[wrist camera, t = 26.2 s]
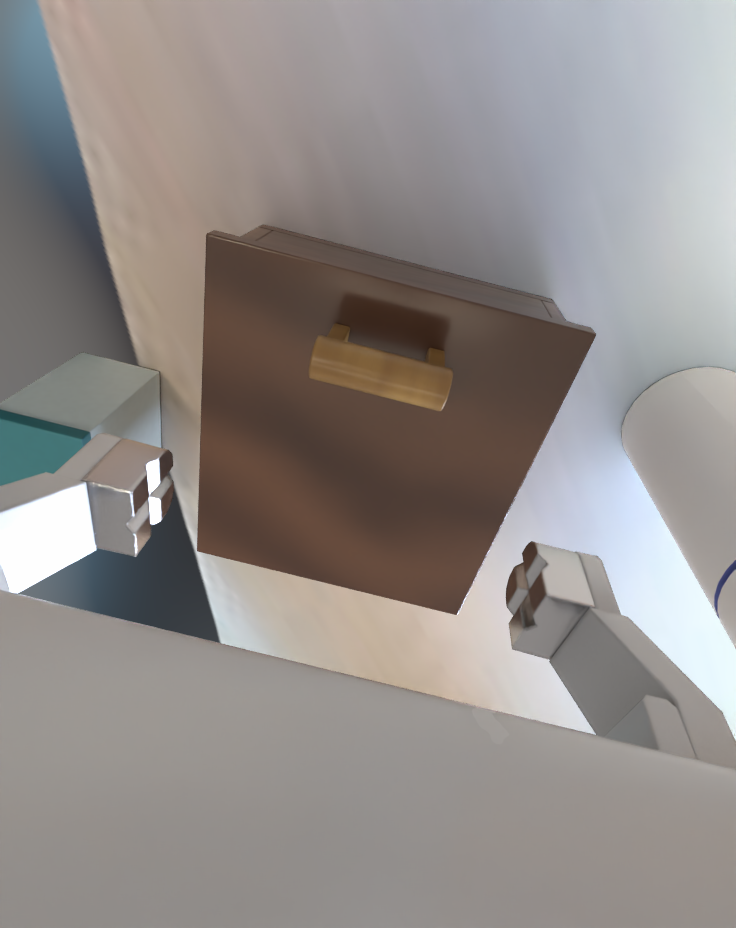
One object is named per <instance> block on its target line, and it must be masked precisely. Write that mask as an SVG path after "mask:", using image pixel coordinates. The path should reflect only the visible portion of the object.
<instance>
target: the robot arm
mask: <svg viewBox="0 0 736 928" xmlns="http://www.w3.org/2000/svg"><path fill="white" fill-rule="evenodd" d="M172 467H173V456H172V453H171V452H170V451H169V450H166V449H163V448H159V447H155V446H152V445H148V444H145V443H141V442H137V441H134V440H130V439H124V438H121V437H118V436H114V435H110V434H107V433H100V434H97V435H96V436H95V437H93V438H92V439H91V440H90V441H89V442H88V443H87V444H86V445H85V446H83V447H82V448H81V449H80V450H79V451H78V452H77V453H76V454H75V455H74V456H72V457H71V458H70V459H69V460H68V461H67V462H66V463H65V464H64V465H62V466H61V467H60V468H59V469H58V470H57V471H56V472H55V473H54V474H52V473H47V472H45V473H42V474H39V475H35V476H32V477H29V478H25V479H22V480H19V481H15V482H12V483H9V484H5V485H2V486H0V928H736V741H735V739H734V737H733V735H732V732H731V730H730V728H729V726H728V724H727V721H726V719H725V717H724V715H723V713H722V711H721V710H720V709H719V708H718V707H717V706H716V705H715V704H714V703H713V702H712V701H711V700H710V699H709V698H708V697H707V696H706V695H705V694H704V693H703V692H702V691H701V690H700V689H699V688H698V687H697V686H696V685H695V684H694V683H693V682H692V681H691V680H690V679H689V678H688V677H687V676H686V675H685V674H684V673H683V672H682V671H681V670H680V669H679V668H678V667H677V666H676V665H675V664H674V663H673V662H672V661H671V660H670V659H669V658H668V657H667V656H666V655H665V654H664V653H663V652H662V651H661V650H660V649H659V648H658V647H657V646H656V645H655V644H654V643H653V642H652V641H651V640H650V639H649V638H648V637H647V636H646V635H645V634H644V633H643V632H642V631H641V630H640V629H639V628H638V627H637V626H636V625H635V624H634V623H633V622H632V621H631V620H630V619H629V618H628V617H626V616H622V615H621V613H620V611H619V608H618V605H617V602H616V599H615V597H614V594H613V591H612V588H611V585H610V582H609V580H608V577H607V574H606V571H605V568H604V566H603V563H602V560H601V559H600V558H599V557H598V556H594V555H589V554H585V553H580V552H573V551H569V550H565V549H561V548H557V547H553V546H549V545H545V544H541V543H537V542H533V541H531V542H530V543H529V544H528V545H527V546H526V548H525V549H524V551H523V553H522V555H523V561H524V562H523V563H521V564H519V565H517V566H515V567H514V569H513V571H512V573H511V575H510V577H509V580H508V584H507V588H506V604H507V608H508V609H509V610H510V612H511V613H512V614H513V617H512V619H511V621H510V622H509V629H510V636H511V644H512V649H513V650H517V651H520V652H524V653H527V654H531V655H535V656H538V657H542V658H546V659H549V660H550V661H549V662H550V663H551V665H552V666H553V668H554V670H555V671H556V673H557V674H558V676H559V677H560V679H561V680H562V682H563V684H564V685H565V687H566V688H567V690H568V691H569V693H570V694H571V696H572V698H573V699H574V701H575V702H576V704H577V705H578V707H579V708H580V710H581V712H582V713H583V715H584V716H585V718H586V719H587V721H588V722H589V724H590V726H591V727H592V729H593V730H594V732H595V733H596V735H593V734H589V733H585V732H581V731H577V730H573V729H569V728H565V727H561V726H556V725H552V724H548V723H544V722H540V721H536V720H532V719H528V718H524V717H520V716H516V715H511V714H507V713H503V712H499V711H495V710H491V709H487V708H483V707H479V706H475V705H471V704H467V703H462V702H458V701H454V700H450V699H446V698H442V697H438V696H434V695H430V694H426V693H421V692H417V691H413V690H409V689H405V688H401V687H397V686H393V685H389V684H385V683H381V682H376V681H372V680H368V679H364V678H360V677H356V676H352V675H348V674H344V673H340V672H336V671H331V670H327V669H323V668H319V667H315V666H311V665H307V664H303V663H299V662H295V661H291V660H286V659H282V658H278V657H274V656H270V655H266V654H262V653H258V652H254V651H250V650H245V649H241V648H237V647H233V646H229V645H225V644H221V643H216V642H213V641H209V640H204V639H200V638H196V637H192V636H188V635H184V634H179V633H176V632H172V631H167V630H163V629H159V628H155V627H151V626H147V625H143V624H139V623H135V622H131V621H126V620H123V619H118V618H114V617H110V616H106V615H102V614H98V613H94V612H90V611H86V610H81V609H78V608H73V607H69V606H65V605H61V604H57V603H53V602H49V601H44V600H41V599H37V598H32V597H28V596H24V595H20V594H17V593H19V592H21V591H23V590H24V589H26V588H28V587H30V586H32V585H33V584H35V583H37V582H39V581H41V580H43V579H44V578H46V577H48V576H50V575H52V574H53V573H55V572H57V571H59V570H61V569H62V568H64V567H66V566H68V565H70V564H72V563H73V562H75V561H77V560H79V559H81V558H83V557H84V556H86V555H88V554H90V553H92V552H93V551H95V550H96V548H100V549H104V550H109V551H113V552H118V553H123V554H127V555H131V556H137V554H138V553H139V552H140V550H141V549H142V547H143V546H144V545H145V543H146V542H147V540H148V539H149V537H150V536H151V525H153V524H155V523H158V522H160V521H161V520H162V519H163V517H164V516H165V514H166V513H167V511H168V509H169V506H170V503H171V501H172V495H173V480H172V479H171V478H170V476H169V475H168V472H169V471H170V469H171V468H172Z"/></svg>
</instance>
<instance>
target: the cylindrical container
mask: <svg viewBox="0 0 736 928" xmlns="http://www.w3.org/2000/svg"><path fill="white" fill-rule="evenodd" d="M621 436H622V444H623V447H624V449H625V452H626V454H627V456H628V457H629V459H630V461H631V463H632V465H633V466H634V468H635V470H636V472H637V473H638V475H639V477H640V479H641V481H642V482H643V484H644V486H645V488H646V490H647V491H648V493H649V495H650V497H651V498H652V500H653V502H654V504H655V506H656V507H657V509H658V511H659V513H660V514H661V516H662V518H663V520H664V522H665V523H666V525H667V527H668V529H669V531H670V532H671V534H672V536H673V538H674V539H675V541H676V543H677V545H678V547H679V548H680V550H681V552H682V554H683V556H684V557H685V559H686V561H687V563H688V564H689V566H690V568H691V570H692V572H693V573H694V575H695V577H696V579H697V580H698V582H699V584H700V586H701V588H702V589H703V591H704V593H705V595H706V597H707V598H708V600H709V602H710V604H711V605H712V607H713V609H714V611H715V613H716V614H717V616H718V618H719V619H720V621H721V623H722V625H723V627H724V629H725V630H726V632H727V634H728V636H729V638H730V639H731V641H732V643H733V645H734V646H735V648H736V373H735V372H733V371H729V370H726V369H723V368H715V367H700V368H691V369H687V370H683V371H679V372H677V373H674V374H672V375H669V376H667V377H665V378H663V379H661V380H660V381H658V382H656V383H654V384H653V385H652V386H650V387H649V388H648V389H647V390H645V391H644V392H643V393H642V394H641V395H640V396H639V397H638V398H637V399H636V400H635V401H634V403H633V404H632V406H631V407H630V409H629V410H628V412H627V414H626V416H625V419H624V422H623V425H622V433H621Z"/></svg>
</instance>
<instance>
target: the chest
mask: <svg viewBox="0 0 736 928" xmlns="http://www.w3.org/2000/svg"><path fill="white" fill-rule="evenodd" d="M241 237H242V238H246V239H250V240H254V241H258V242H262V243H266V244H269V245H273V246H277V247H281V248H285V249H289V250H293V251H296V252H300V253H304V254H308V255H312V256H316V257H320V258H323V259H327V260H331V261H335V262H339V263H343V264H347V265H351V266H354V267H358V268H362V269H366V270H370V271H374V272H378V273H381V274H385V275H389V276H393V277H397V278H401V279H405V280H408V281H412V282H416V283H420V284H424V285H428V286H432V287H435V288H439V289H443V290H447V291H451V292H455V293H459V294H463V295H466V296H470V297H474V298H478V299H482V300H486V301H490V302H493V303H497V304H501V305H505V306H509V307H513V308H517V309H520V310H524V311H528V312H532V313H536V314H540V315H544V316H547V317H551V318H555V319H559V320H563V321H566V320H565V318H564V317H563V315H562V314H561V312H560V311H559V309H558V308H557V306H556V305H555V303H554V301H553V300H552V299H548V298H545V297H541V296H537V295H533V294H529V293H525V292H521V291H518V290H514V289H510V288H506V287H502V286H498V285H495V284H491V283H487V282H483V281H479V280H475V279H471V278H468V277H464V276H460V275H456V274H452V273H448V272H444V271H441V270H437V269H433V268H429V267H425V266H421V265H418V264H414V263H410V262H406V261H402V260H398V259H394V258H391V257H387V256H383V255H379V254H375V253H371V252H367V251H364V250H360V249H356V248H352V247H348V246H344V245H341V244H337V243H333V242H329V241H325V240H321V239H317V238H314V237H310V236H306V235H302V234H298V233H294V232H290V231H287V230H283V229H279V228H275V227H271V226H267V225H261V226H259V227H257V228H255V229H254V230H252V231H250V232H248V233H246V234H244V235H243V236H241Z"/></svg>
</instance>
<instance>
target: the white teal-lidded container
mask: <svg viewBox="0 0 736 928" xmlns="http://www.w3.org/2000/svg"><path fill="white" fill-rule="evenodd" d="M100 433H107V434H110V435H114V436H118V437H121V438H124V439H130V440H134V441H137V442H141V443H145V444H148V445H152V446H155V447H159V448H161V414H160V376H159V371H155V370H151V369H147V368H143V367H139V366H135V365H131V364H127V363H123V362H119V361H115V360H112V359H108V358H103V357H100V356H96V355H92V354H88V353H84V352H81V353H79V354H78V355H76V356H75V357H73V358H71V359H70V360H68V361H67V362H65V363H63V364H62V365H61V366H59V367H57V368H56V369H54V370H52V371H51V372H49V373H47V374H46V375H44V376H43V377H41V378H39V379H38V380H36V381H35V382H33V383H31V384H30V385H29V386H27V387H25V388H24V389H22V390H20V391H19V392H17V393H15V394H14V395H12V396H11V397H9V398H7V399H6V400H4V401H3V402H1V403H0V486H2V485H5V484H9V483H12V482H15V481H19V480H22V479H25V478H29V477H32V476H35V475H39V474H42V473H45V472H47V473H52V474H54V473H55V472H56V471H57V470H58V469H59V468H60V467H61V466H62V465H64V464H65V463H66V462H67V461H68V460H69V459H70V458H71V457H72V456H74V455H75V454H76V453H77V452H78V451H79V450H80V449H81V448H82V447H83V446H85V445H86V444H87V443H88V442H89V441H90V440H91V439H92V438H93V437H95V436H96V435H97V434H100Z"/></svg>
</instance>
